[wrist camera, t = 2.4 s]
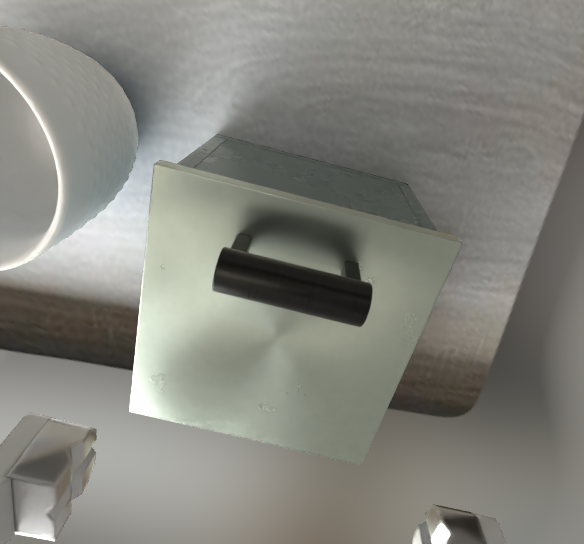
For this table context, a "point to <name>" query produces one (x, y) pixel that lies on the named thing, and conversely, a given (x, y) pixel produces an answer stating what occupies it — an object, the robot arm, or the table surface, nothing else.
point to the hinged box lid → (278, 312)
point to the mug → (56, 143)
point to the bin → (309, 179)
